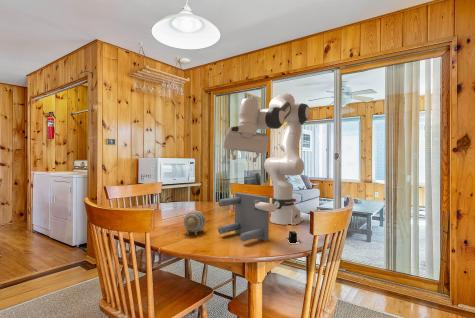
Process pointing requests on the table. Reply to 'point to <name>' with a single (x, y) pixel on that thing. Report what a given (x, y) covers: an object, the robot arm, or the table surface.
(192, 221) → the toy sheep
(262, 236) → the stool
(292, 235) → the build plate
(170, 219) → the table surface
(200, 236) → the table surface
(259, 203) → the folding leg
